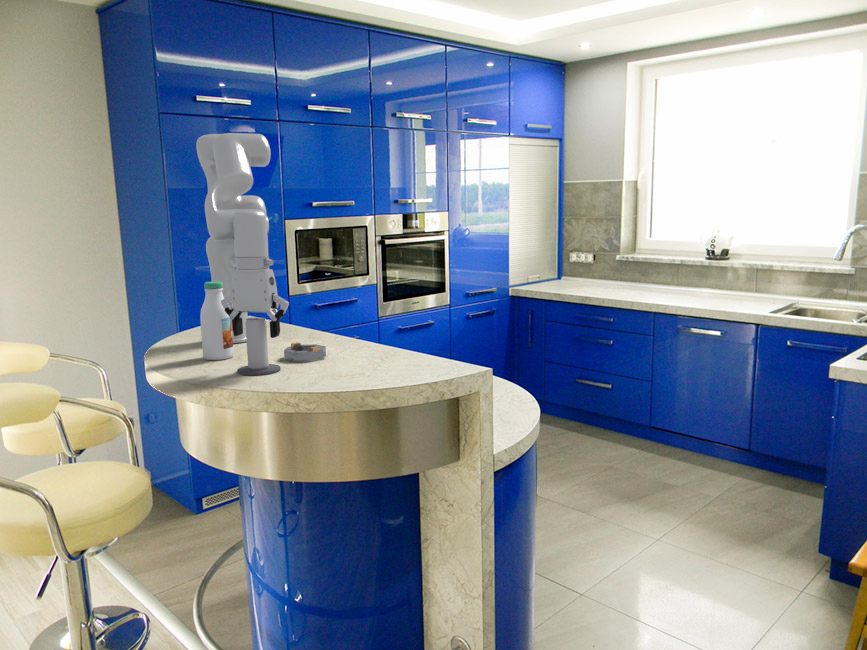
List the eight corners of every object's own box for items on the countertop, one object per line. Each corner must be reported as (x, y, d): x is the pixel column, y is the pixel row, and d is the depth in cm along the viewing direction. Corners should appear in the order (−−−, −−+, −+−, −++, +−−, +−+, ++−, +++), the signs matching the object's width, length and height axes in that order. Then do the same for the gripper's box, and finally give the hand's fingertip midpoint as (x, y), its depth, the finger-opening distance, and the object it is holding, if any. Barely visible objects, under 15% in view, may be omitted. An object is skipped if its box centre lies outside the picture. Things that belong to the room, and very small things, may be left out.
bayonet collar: (278, 358, 178) (277, 345, 177) (310, 352, 185) (309, 340, 184) (300, 363, 171) (299, 350, 170) (332, 357, 178) (332, 344, 177)
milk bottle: (214, 362, 175) (209, 284, 171) (197, 358, 179) (191, 282, 176) (239, 356, 181) (234, 281, 177) (222, 353, 185) (216, 280, 182)
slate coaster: (229, 371, 164) (229, 368, 164) (266, 364, 171) (266, 361, 171) (251, 377, 157) (251, 375, 157) (288, 370, 164) (288, 367, 164)
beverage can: (249, 371, 161) (245, 320, 159) (247, 366, 165) (244, 318, 163) (269, 369, 163) (267, 319, 161) (267, 365, 167) (265, 316, 165)
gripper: (293, 263, 161) (296, 334, 164) (228, 262, 166) (232, 331, 169) (278, 266, 154) (282, 340, 157) (210, 265, 159) (215, 337, 162)
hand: (256, 335), depth 163 cm, fingers open, 9 cm apart
